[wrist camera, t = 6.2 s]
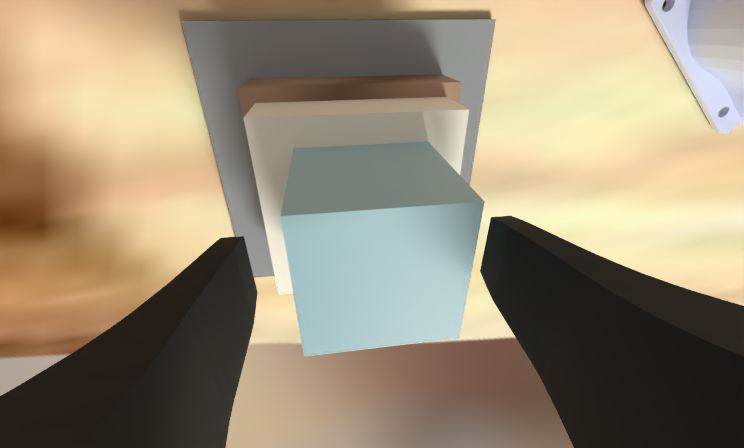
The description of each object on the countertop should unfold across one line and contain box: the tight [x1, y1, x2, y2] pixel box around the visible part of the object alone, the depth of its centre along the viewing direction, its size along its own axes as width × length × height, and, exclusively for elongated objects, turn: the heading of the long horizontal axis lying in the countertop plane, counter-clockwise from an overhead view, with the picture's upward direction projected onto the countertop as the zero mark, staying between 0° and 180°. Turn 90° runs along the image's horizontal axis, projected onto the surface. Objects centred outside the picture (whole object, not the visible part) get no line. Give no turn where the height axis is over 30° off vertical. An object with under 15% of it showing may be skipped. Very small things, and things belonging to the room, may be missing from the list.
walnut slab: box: [238, 74, 461, 220], centre depth 15 cm, size 8×8×2 cm
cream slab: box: [244, 97, 469, 295], centre depth 13 cm, size 7×7×2 cm
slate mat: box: [181, 19, 496, 277], centre depth 16 cm, size 12×12×1 cm
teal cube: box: [280, 142, 484, 356], centre depth 10 cm, size 4×4×4 cm
